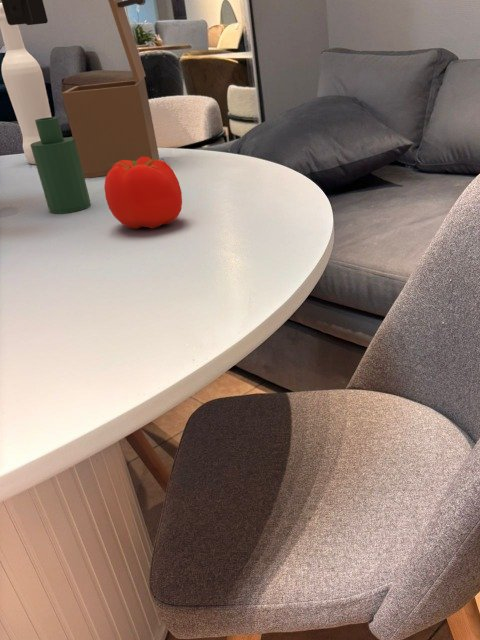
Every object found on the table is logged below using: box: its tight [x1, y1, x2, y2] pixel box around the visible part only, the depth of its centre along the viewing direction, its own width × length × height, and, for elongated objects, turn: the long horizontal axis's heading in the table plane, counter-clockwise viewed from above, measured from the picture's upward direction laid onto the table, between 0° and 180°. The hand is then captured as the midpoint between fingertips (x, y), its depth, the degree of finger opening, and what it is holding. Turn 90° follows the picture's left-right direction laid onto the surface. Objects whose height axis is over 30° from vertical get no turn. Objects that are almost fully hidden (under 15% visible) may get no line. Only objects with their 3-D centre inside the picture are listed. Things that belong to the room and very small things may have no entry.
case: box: [61, 78, 160, 179], centre depth 124 cm, size 14×14×15 cm
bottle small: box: [30, 116, 92, 214], centre depth 98 cm, size 6×6×13 cm
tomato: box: [103, 157, 183, 229], centre depth 87 cm, size 11×11×9 cm
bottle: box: [0, 2, 52, 165], centre depth 134 cm, size 8×8×30 cm
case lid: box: [108, 0, 147, 83], centre depth 116 cm, size 14×14×5 cm
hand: (29, 24), depth 90 cm, fingers open, 9 cm apart
